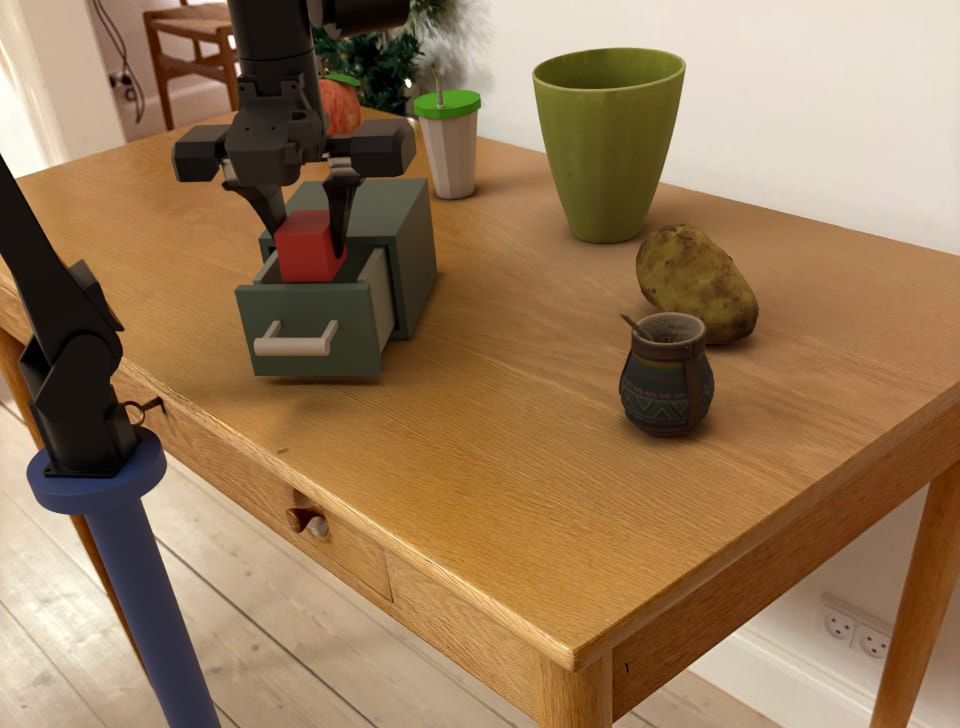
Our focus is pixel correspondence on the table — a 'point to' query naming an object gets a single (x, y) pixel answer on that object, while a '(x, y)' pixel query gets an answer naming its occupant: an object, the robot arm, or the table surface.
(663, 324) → the mate gourd
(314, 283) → the drawer
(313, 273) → the red block
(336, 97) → the fruit
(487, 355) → the table surface
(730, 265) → the potato
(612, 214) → the flower pot
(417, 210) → the cabinet
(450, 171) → the cup
